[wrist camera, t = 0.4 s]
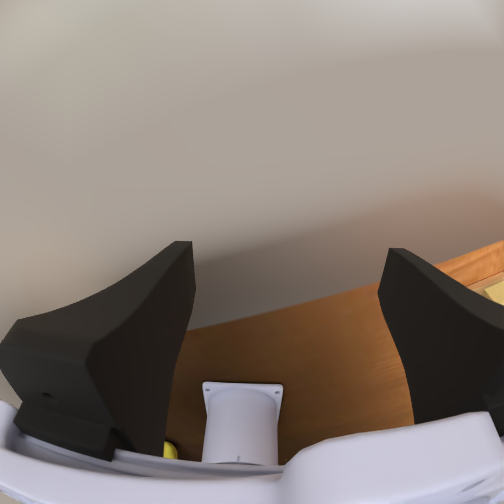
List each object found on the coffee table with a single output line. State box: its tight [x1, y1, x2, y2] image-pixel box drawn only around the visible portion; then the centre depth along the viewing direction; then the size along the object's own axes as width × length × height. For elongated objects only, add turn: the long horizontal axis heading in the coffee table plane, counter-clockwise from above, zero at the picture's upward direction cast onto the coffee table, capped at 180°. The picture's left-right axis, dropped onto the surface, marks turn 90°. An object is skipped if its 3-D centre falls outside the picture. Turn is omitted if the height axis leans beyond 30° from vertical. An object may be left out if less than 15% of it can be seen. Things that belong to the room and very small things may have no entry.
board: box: [467, 271, 504, 296], centre depth 24 cm, size 7×10×1 cm
